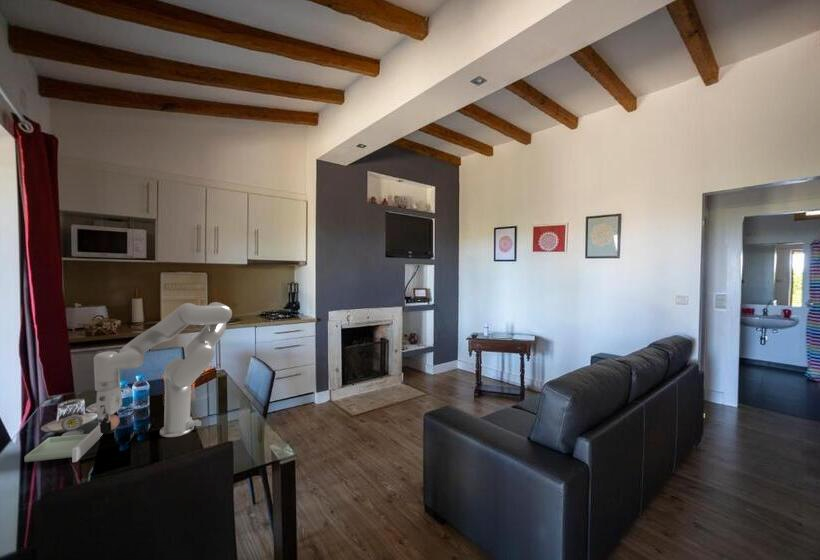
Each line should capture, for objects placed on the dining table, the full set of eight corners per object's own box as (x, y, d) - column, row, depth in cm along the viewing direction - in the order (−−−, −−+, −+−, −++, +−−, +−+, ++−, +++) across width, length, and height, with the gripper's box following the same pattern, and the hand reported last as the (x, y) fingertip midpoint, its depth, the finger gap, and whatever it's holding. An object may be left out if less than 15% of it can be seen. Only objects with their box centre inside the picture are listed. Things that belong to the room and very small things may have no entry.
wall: (102, 435, 148) (102, 424, 148) (76, 461, 130) (76, 448, 129) (99, 436, 148) (99, 424, 148) (72, 462, 129) (72, 449, 129)
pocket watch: (69, 440, 143) (69, 416, 143) (53, 437, 145) (53, 413, 144) (91, 431, 151) (91, 408, 151) (76, 428, 153) (76, 405, 152)
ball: (122, 425, 143) (121, 410, 143) (115, 432, 138) (115, 417, 137) (104, 427, 141) (103, 412, 141) (96, 434, 136) (96, 419, 135)
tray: (92, 438, 146) (92, 433, 146) (73, 457, 132) (73, 451, 132) (48, 442, 141) (48, 437, 141) (24, 462, 128) (24, 456, 128)
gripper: (109, 391, 131) (111, 437, 133) (128, 375, 147) (130, 417, 149) (84, 393, 129) (86, 441, 130) (106, 377, 145) (108, 419, 146)
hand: (110, 427), depth 139 cm, fingers closed on ball, 5 cm apart
